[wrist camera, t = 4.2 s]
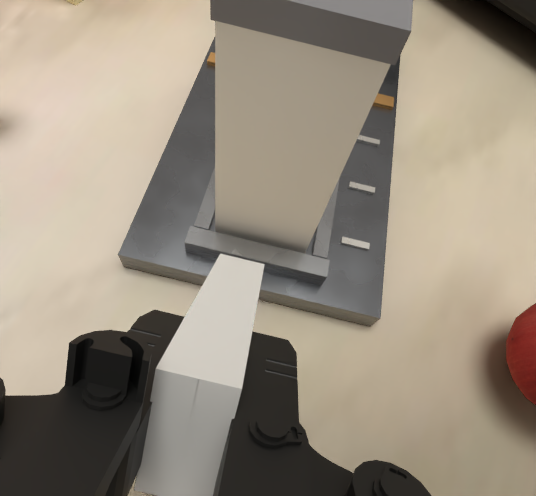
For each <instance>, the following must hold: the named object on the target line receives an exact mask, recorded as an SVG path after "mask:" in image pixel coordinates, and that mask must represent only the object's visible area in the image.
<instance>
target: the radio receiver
mask: <svg viewBox="0 0 536 496" xmlns="http://www.w3.org/2000/svg"><path fill="white" fill-rule="evenodd" d="M486 1H488V2H489V3H491V4H492V5H494V6H495V7H497V8H498V9H500V10H502V11H503V12H505V13H506V14H508V15H509V16H511V17H512V18H514V19H515V20H517V21H518V22H520V23H521V24H523V25H524V26H526V27H527V28H529V29H530V30H532V31H533V32H535V33H536V0H486Z"/></svg>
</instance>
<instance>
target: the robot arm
mask: <svg viewBox="0 0 536 496" xmlns="http://www.w3.org/2000/svg"><path fill="white" fill-rule="evenodd" d="M264 265H265V264H261V263H257V262H253V261H249V260H245V259H241V258H237V257H233V256H228V255H224V254H220V255H219V257H218V258H217V260H216V262H215V264H214V266H213V267H212V269H211V271H210V273H209V275H208V276H207V278H206V280H205V282H204V283H203V285H202V287H201V289H200V291H199V292H198V294H197V296H196V298H195V299H194V301H193V303H192V305H191V307H190V308H189V310H188V312H187V314H186V316H185V317H183V316H179V315H174V314H170V313H166V312H162V311H158V310H153V311H151V312H149V313H147V314H145V315H143V316H140V317H139V318H138V319H137V321H136V322H135V323H134V324H133V326H132V327H131V329H130V330H129V331H128V332H121V331H113V330H106V331H94V332H91V333H87V334H84V335H81V336H79V337H77V338H76V339H74V340H73V341H71V342H70V343H69V350H68V360H67V370H66V380H65V386H64V387H63V388H62V389H61V390H60V392H59V393H57V394H52V395H39V396H5V386H4V382H3V380H2V379H1V378H0V496H127V495H128V493H129V491H130V488H131V486H132V484H133V482H134V479H135V477H136V482H135V487H134V490H135V491H139V492H143V493H148V494H152V495H156V496H431V494H430V493H429V492H428V491H427V489H426V488H425V487H424V486H423V485H422V483H421V482H420V481H419V480H417V479H416V478H415V477H414V476H412V475H411V474H410V473H409V472H407V471H406V470H404V469H402V468H400V467H398V466H396V465H394V464H392V463H388V462H383V461H378V460H373V461H367V462H363V463H362V464H361V465H360V466H358V467H357V468H356V469H355V471H354V473H352V472H350V471H348V470H346V469H344V468H342V467H340V466H338V465H336V464H334V463H332V462H331V461H329V460H327V459H326V458H324V457H323V456H321V455H320V454H319V453H317V452H316V451H315V450H314V449H313V448H312V447H311V446H310V445H309V442H308V438H307V435H306V432H305V429H304V428H303V427H302V426H301V424H300V423H299V412H298V384H297V368H296V367H297V356H296V351H295V350H294V348H293V347H292V345H291V344H290V342H289V341H288V340H285V339H281V338H277V337H273V336H269V335H264V334H260V333H256V332H252V331H253V325H254V320H255V314H256V309H257V303H258V298H259V292H260V287H261V281H262V276H263V270H264ZM136 475H137V476H136Z"/></svg>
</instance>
